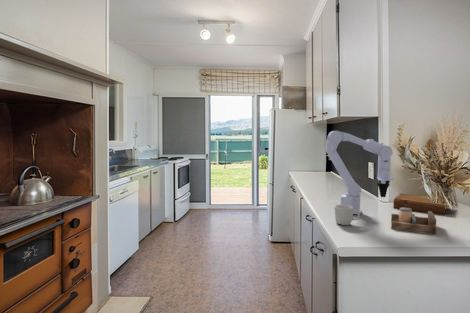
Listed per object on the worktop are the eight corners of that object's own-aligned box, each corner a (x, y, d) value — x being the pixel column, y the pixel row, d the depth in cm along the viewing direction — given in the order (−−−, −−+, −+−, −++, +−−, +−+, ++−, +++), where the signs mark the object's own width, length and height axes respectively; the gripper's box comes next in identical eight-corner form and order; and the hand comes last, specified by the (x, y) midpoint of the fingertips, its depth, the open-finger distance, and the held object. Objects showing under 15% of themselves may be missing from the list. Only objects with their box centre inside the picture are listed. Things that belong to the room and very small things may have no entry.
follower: (412, 229, 127) (412, 219, 127) (410, 222, 137) (411, 213, 136) (415, 229, 126) (416, 220, 126) (413, 222, 136) (414, 213, 136)
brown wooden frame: (391, 228, 129) (391, 215, 128) (391, 219, 142) (391, 207, 142) (435, 234, 122) (436, 220, 121) (431, 224, 135) (431, 211, 134)
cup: (358, 222, 138) (359, 205, 137) (360, 228, 130) (360, 209, 130) (334, 220, 141) (334, 204, 141) (333, 225, 134) (334, 208, 133)
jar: (398, 226, 132) (399, 209, 131) (398, 223, 136) (399, 206, 136) (411, 228, 130) (412, 210, 129) (411, 225, 134) (411, 208, 134)
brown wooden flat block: (393, 209, 164) (393, 199, 164) (399, 203, 179) (400, 193, 178) (444, 216, 150) (444, 204, 150) (446, 208, 165) (447, 198, 164)
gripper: (393, 171, 143) (392, 199, 144) (392, 168, 156) (392, 193, 157) (376, 170, 147) (375, 197, 148) (377, 167, 159) (377, 192, 160)
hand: (383, 195), depth 153 cm, fingers open, 7 cm apart
